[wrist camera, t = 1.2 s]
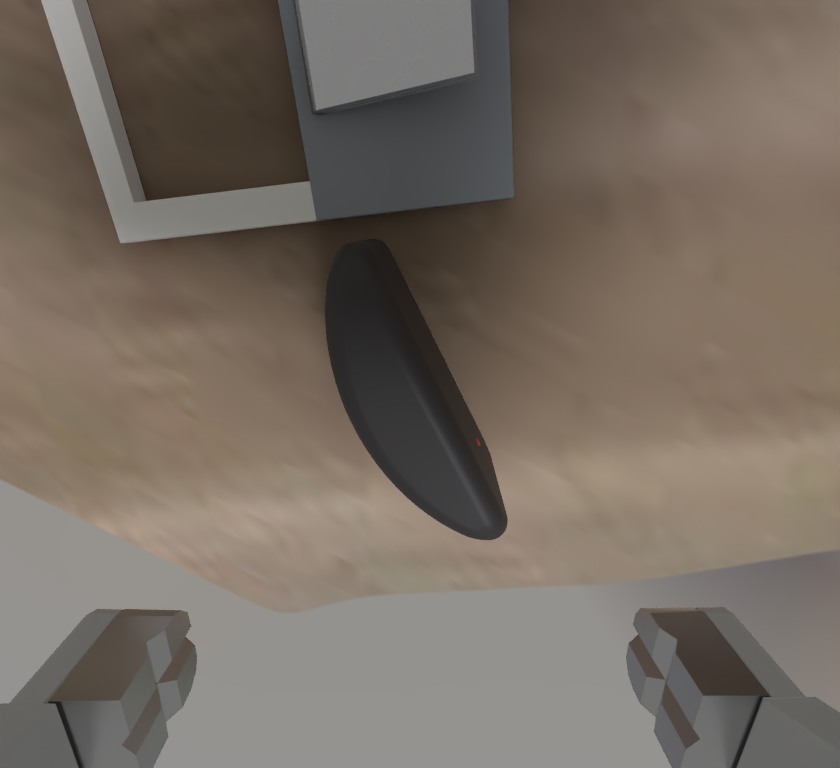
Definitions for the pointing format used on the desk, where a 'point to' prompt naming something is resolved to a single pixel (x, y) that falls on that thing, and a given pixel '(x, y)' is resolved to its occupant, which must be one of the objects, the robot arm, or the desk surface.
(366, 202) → the mounting board
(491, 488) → the leaning round-cornered charcoal block
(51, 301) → the desk surface
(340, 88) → the light grey rectangular plate
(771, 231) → the desk surface
